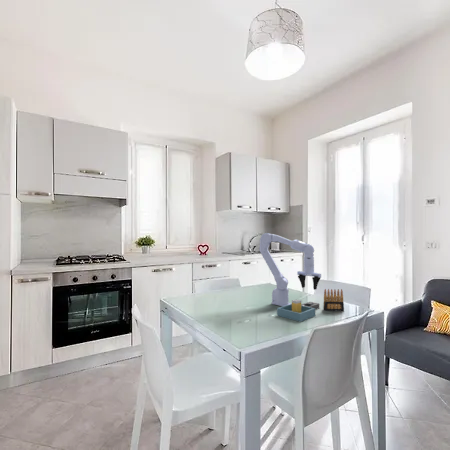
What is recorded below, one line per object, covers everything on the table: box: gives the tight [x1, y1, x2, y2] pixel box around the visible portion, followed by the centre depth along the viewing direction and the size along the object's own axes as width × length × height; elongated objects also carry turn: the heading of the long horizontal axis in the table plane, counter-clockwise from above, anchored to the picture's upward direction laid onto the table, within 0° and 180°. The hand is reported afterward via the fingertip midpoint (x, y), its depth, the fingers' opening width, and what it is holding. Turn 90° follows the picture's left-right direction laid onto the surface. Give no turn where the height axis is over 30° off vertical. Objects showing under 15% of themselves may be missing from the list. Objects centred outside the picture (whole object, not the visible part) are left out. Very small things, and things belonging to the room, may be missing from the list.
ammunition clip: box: [323, 288, 345, 312], centre depth 160 cm, size 11×2×12 cm, turn 85°
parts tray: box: [276, 303, 316, 323], centre depth 151 cm, size 14×14×4 cm
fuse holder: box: [301, 301, 320, 310], centre depth 162 cm, size 6×14×3 cm, turn 133°
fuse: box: [291, 298, 302, 313], centre depth 151 cm, size 3×4×7 cm
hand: (309, 288), depth 169 cm, fingers open, 7 cm apart
